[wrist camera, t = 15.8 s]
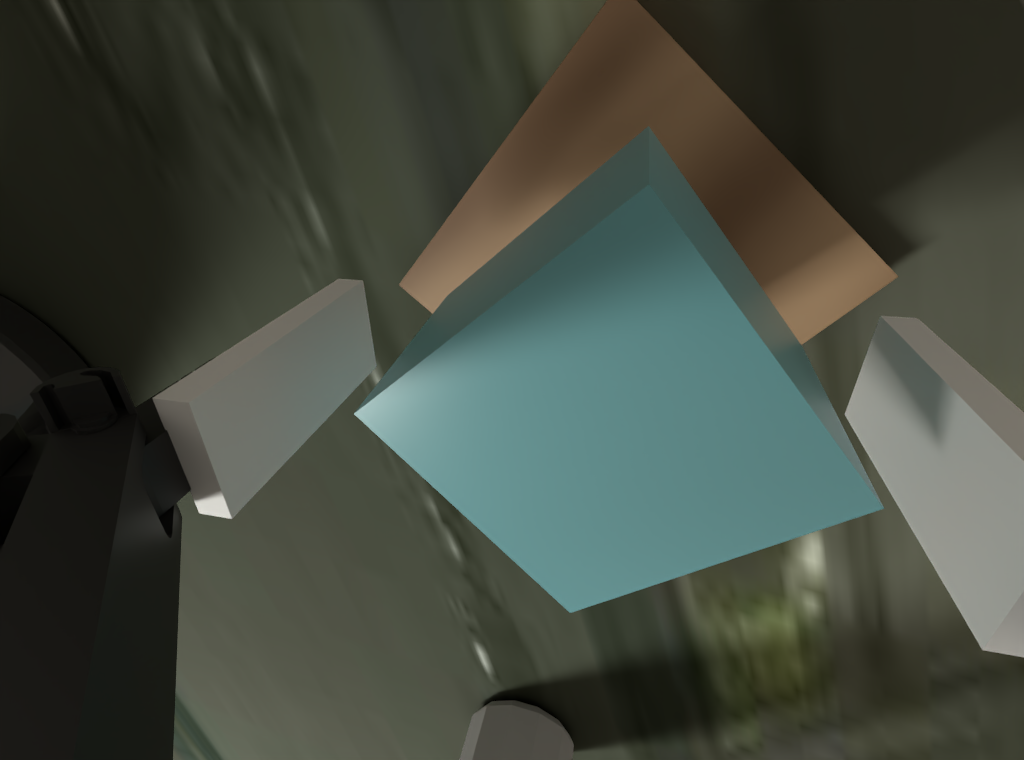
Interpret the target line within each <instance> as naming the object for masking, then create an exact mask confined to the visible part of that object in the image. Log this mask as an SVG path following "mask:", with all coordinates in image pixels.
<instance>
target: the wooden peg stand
mask: <svg viewBox="0 0 1024 760" xmlns="http://www.w3.org/2000/svg"><path fill="white" fill-rule="evenodd" d="M648 126H649V127H650V129H651V130H652V131H653V133H654V134H655V136H656V137H657V139H658V140H659V141H660V143H661V144H662V146H663V147H664V149H665V150H666V152H667V153H668V154H669V156H670V157H671V159H672V160H673V162H674V163H675V164H676V166H677V167H678V169H679V170H680V172H681V173H682V174H683V176H684V177H685V179H686V180H687V182H688V183H689V185H690V186H691V187H692V189H693V190H694V192H695V193H696V195H697V196H698V197H699V199H700V200H701V202H702V203H703V205H704V206H705V207H706V209H707V210H708V212H709V213H710V215H711V216H712V218H713V219H714V220H715V222H716V223H717V225H718V226H719V228H720V229H721V230H722V232H723V233H724V235H725V236H726V238H727V239H728V240H729V242H730V243H731V245H732V246H733V248H734V249H735V250H736V252H737V253H738V255H739V256H740V258H741V259H742V261H743V262H744V263H745V265H746V266H747V268H748V269H749V271H750V272H751V273H752V275H753V276H754V278H755V279H756V281H757V282H758V283H759V285H760V286H761V288H762V289H763V291H764V292H765V294H766V295H767V296H768V298H769V299H770V301H771V302H772V304H773V305H774V306H775V308H776V309H777V311H778V312H779V314H780V315H781V316H782V318H783V319H784V321H785V322H786V324H787V325H788V327H789V328H790V329H791V331H792V332H793V334H794V335H795V337H796V338H797V339H798V341H799V342H800V344H801V345H802V344H803V343H805V342H806V341H808V340H809V339H810V338H812V337H813V336H815V335H816V334H818V333H819V332H820V331H822V330H823V329H825V328H826V327H827V326H829V325H830V324H832V323H833V322H835V321H836V320H837V319H839V318H840V317H842V316H843V315H845V314H846V313H847V312H849V311H850V310H852V309H853V308H855V307H856V306H857V305H859V304H860V303H862V302H863V301H864V300H866V299H867V298H869V297H870V296H872V295H873V294H874V293H876V292H877V291H879V290H880V289H882V288H883V287H884V286H886V285H887V284H889V283H890V282H892V281H893V280H894V279H896V278H897V277H898V276H897V275H896V274H895V273H894V272H893V270H892V269H891V268H890V267H889V266H888V265H887V264H886V263H885V262H884V261H883V260H882V259H881V258H880V257H879V256H878V255H877V254H876V253H875V251H874V250H873V249H872V248H871V247H870V246H869V245H868V244H867V243H866V242H865V241H864V240H863V239H862V238H861V237H860V236H859V235H858V234H857V232H856V231H855V230H854V229H853V228H852V227H851V226H850V225H849V224H848V223H847V222H846V221H845V220H844V219H843V218H842V217H841V216H840V215H839V213H838V212H837V211H836V210H835V209H834V208H833V207H832V206H831V205H830V204H829V203H828V202H827V201H826V200H825V199H824V198H823V197H822V196H821V194H820V193H819V192H818V191H817V190H816V189H815V188H814V187H813V186H812V185H811V184H810V183H809V182H808V181H807V180H806V179H805V178H804V177H803V175H802V174H801V173H800V172H799V171H798V170H797V169H796V168H795V167H794V166H793V165H792V164H791V163H790V162H789V161H788V160H787V159H786V158H785V156H784V155H783V154H782V153H781V152H780V151H779V150H778V149H777V148H776V147H775V146H774V145H773V144H772V143H771V142H770V141H769V140H768V139H767V137H766V136H765V135H764V134H763V133H762V132H761V131H760V130H759V129H758V128H757V127H756V126H755V125H754V124H753V123H752V122H751V121H750V119H749V118H748V117H747V116H746V115H745V114H744V113H743V112H742V111H741V110H740V109H739V108H738V107H737V106H736V105H735V104H734V103H733V102H732V100H731V99H730V98H729V97H728V96H727V95H726V94H725V93H724V92H723V91H722V90H721V89H720V88H719V87H718V86H717V85H716V84H715V83H714V81H713V80H712V79H711V78H710V77H709V76H708V75H707V74H706V73H705V72H704V71H703V70H702V69H701V68H700V67H699V66H698V65H697V64H696V62H695V61H694V60H693V59H692V58H691V57H690V56H689V55H688V54H687V53H686V52H685V51H684V50H683V49H682V48H681V47H680V46H679V45H678V43H677V42H676V41H675V40H674V39H673V38H672V37H671V36H670V35H669V34H668V33H667V32H666V31H665V30H664V29H663V28H662V27H661V26H660V24H659V23H658V22H657V21H656V20H655V19H654V18H653V17H652V16H651V15H650V14H649V13H648V12H647V11H646V10H645V9H644V8H643V7H642V5H641V4H640V3H639V2H638V1H637V0H607V1H606V3H605V4H604V6H603V7H602V8H601V10H600V11H599V12H598V14H597V15H596V16H595V18H594V19H593V21H592V22H591V23H590V25H589V26H588V27H587V29H586V30H585V31H584V33H583V34H582V36H581V37H580V38H579V40H578V41H577V42H576V44H575V45H574V46H573V48H572V49H571V51H570V52H569V53H568V55H567V56H566V57H565V59H564V60H563V61H562V63H561V64H560V66H559V67H558V68H557V70H556V71H555V72H554V74H553V75H552V76H551V78H550V79H549V81H548V82H547V83H546V85H545V86H544V87H543V89H542V90H541V91H540V93H539V94H538V96H537V97H536V98H535V100H534V101H533V102H532V104H531V105H530V106H529V108H528V109H527V111H526V112H525V113H524V115H523V116H522V117H521V119H520V120H519V121H518V123H517V124H516V126H515V127H514V128H513V130H512V131H511V132H510V134H509V135H508V136H507V138H506V139H505V141H504V142H503V143H502V145H501V146H500V147H499V149H498V150H497V151H496V153H495V154H494V156H493V157H492V158H491V160H490V161H489V162H488V164H487V165H486V166H485V168H484V169H483V171H482V172H481V173H480V175H479V176H478V177H477V179H476V180H475V181H474V183H473V184H472V186H471V187H470V188H469V190H468V191H467V192H466V194H465V195H464V197H463V198H462V199H461V201H460V202H459V203H458V205H457V206H456V207H455V209H454V210H453V212H452V213H451V214H450V216H449V217H448V218H447V220H446V221H445V222H444V224H443V225H442V227H441V228H440V229H439V231H438V232H437V233H436V235H435V236H434V237H433V239H432V240H431V242H430V243H429V244H428V246H427V247H426V248H425V250H424V251H423V252H422V254H421V255H420V257H419V258H418V259H417V261H416V262H415V263H414V265H413V266H412V267H411V269H410V270H409V272H408V273H407V274H406V276H405V277H404V278H403V280H402V281H401V282H400V284H399V285H400V286H401V287H402V288H403V289H404V290H405V291H407V292H408V293H409V294H410V295H411V296H413V297H414V298H415V299H416V300H417V301H418V302H420V303H421V304H422V305H423V306H424V307H425V308H427V309H428V310H429V311H430V312H431V313H432V314H433V313H434V312H435V310H436V309H437V308H438V307H439V305H440V304H441V303H442V302H443V300H444V299H445V298H446V297H447V295H449V294H450V293H451V292H452V291H453V290H455V289H456V288H457V287H458V286H459V285H461V284H462V283H463V282H464V281H465V280H466V279H468V278H469V277H470V276H471V275H472V274H474V273H475V272H476V271H477V270H478V269H479V268H481V267H482V266H483V265H484V264H485V263H487V262H488V261H489V260H490V259H491V258H493V257H494V256H495V255H496V254H497V253H498V252H500V251H501V250H502V249H503V248H504V247H506V246H507V245H508V244H509V243H510V242H512V241H513V240H514V239H515V238H516V237H517V236H519V235H520V234H521V233H522V232H523V231H525V230H526V229H527V228H528V227H529V226H531V225H532V224H533V223H534V222H535V221H536V220H538V219H539V218H540V217H541V216H542V215H544V214H545V213H546V212H547V211H548V210H549V209H551V208H552V207H553V206H554V205H555V204H557V203H558V202H559V201H560V200H561V199H563V198H564V197H565V196H566V195H567V194H568V193H570V192H571V191H572V190H573V189H574V188H576V187H577V186H578V185H579V184H580V183H582V182H583V181H584V180H585V179H586V178H587V177H589V176H590V175H591V174H592V173H593V172H595V171H596V170H597V169H598V168H599V167H601V166H602V165H603V164H604V163H605V162H606V161H608V160H609V159H610V158H611V157H612V156H614V155H615V154H616V153H617V152H618V151H619V150H621V149H622V148H623V147H624V146H625V145H627V144H628V143H629V142H630V141H631V140H633V139H634V138H635V137H636V136H637V135H638V134H640V133H641V132H642V131H643V130H644V129H646V128H647V127H648Z"/></svg>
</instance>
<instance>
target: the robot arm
mask: <svg viewBox="0 0 1024 760" xmlns="http://www.w3.org/2000/svg"><path fill="white" fill-rule="evenodd" d="M376 367H377V366H376V360H375V353H374V347H373V340H372V334H371V328H370V321H369V315H368V309H367V302H366V296H365V289H364V283H363V280H348V279H337V280H336V281H334V282H333V283H331V284H330V285H328V286H326V287H325V288H323V289H322V290H320V291H319V292H317V293H316V294H314V295H312V296H311V297H309V298H308V299H306V300H305V301H303V302H301V303H300V304H298V305H297V306H295V307H294V308H292V309H291V310H289V311H287V312H286V313H284V314H283V315H281V316H280V317H278V318H277V319H275V320H273V321H272V322H270V323H269V324H267V325H266V326H264V327H262V328H261V329H259V330H258V331H256V332H255V333H253V334H252V335H250V336H248V337H247V338H245V339H244V340H242V341H241V342H239V343H238V344H236V345H234V346H233V347H231V348H230V349H228V350H227V351H225V352H223V353H222V354H220V355H219V356H217V357H215V358H213V359H211V360H209V361H208V362H206V363H205V364H203V365H201V366H200V367H198V368H197V369H195V371H194V372H190V373H189V374H187V375H186V376H184V377H183V378H181V380H180V381H176V382H175V383H173V384H172V385H170V386H168V387H167V388H165V389H164V390H162V391H161V392H159V393H158V394H156V395H154V396H153V397H151V398H150V399H148V400H147V401H145V402H143V403H142V404H140V405H139V406H137V407H136V408H135V406H134V404H133V402H132V400H131V397H130V395H129V393H128V390H127V388H126V386H125V383H124V381H123V379H122V376H121V374H120V372H119V370H116V369H114V368H111V367H93V368H89V367H88V366H87V365H86V364H85V363H84V362H83V360H82V359H81V358H80V357H79V356H78V355H77V354H76V353H75V352H74V351H73V350H72V349H71V348H70V347H69V346H68V345H67V344H66V343H65V342H64V341H63V340H62V339H61V338H60V337H59V336H58V335H57V334H56V333H54V332H53V331H52V330H51V329H50V328H48V327H47V326H46V325H45V324H43V323H42V322H41V321H40V320H38V319H37V318H36V317H34V316H33V315H31V314H30V313H29V312H27V311H26V310H24V309H23V308H21V307H20V306H18V305H16V304H15V303H13V302H11V301H10V300H8V299H6V298H4V297H2V296H0V760H173V739H174V713H175V687H176V660H177V634H178V608H179V582H180V555H181V529H182V516H181V513H180V510H179V508H178V506H177V502H178V501H179V500H180V499H181V498H182V497H183V496H184V495H186V494H187V493H188V492H189V491H190V492H191V494H192V497H193V499H194V502H195V504H196V506H197V509H198V511H199V513H201V514H207V515H212V516H218V517H224V518H229V519H232V518H233V517H234V516H235V515H236V514H237V513H238V512H239V511H240V510H241V509H242V508H243V507H244V506H245V505H246V504H247V503H248V501H249V500H250V499H251V498H252V497H253V496H254V495H255V494H256V493H257V492H258V491H259V490H260V489H261V488H262V487H263V486H264V485H265V484H266V483H267V481H268V480H269V479H270V478H271V477H272V476H273V475H274V474H275V473H276V472H277V471H278V470H279V469H280V468H281V467H282V466H283V465H284V464H285V462H286V461H287V460H288V459H289V458H290V457H291V456H292V455H293V454H294V453H295V452H296V451H297V450H298V449H299V448H300V447H301V446H302V445H303V444H304V442H305V441H306V440H307V439H308V438H309V437H310V436H311V435H312V434H313V433H314V432H315V431H316V430H317V429H318V428H319V427H320V426H321V425H322V424H323V422H324V421H325V420H326V419H327V418H328V417H329V416H330V415H331V414H332V413H333V412H334V411H335V410H336V409H337V408H338V407H339V406H340V405H341V404H342V402H343V401H344V400H345V399H346V398H347V397H348V396H349V395H350V394H351V393H352V392H353V391H354V390H355V389H356V388H357V387H358V386H359V385H360V384H361V382H362V381H363V380H364V379H365V378H366V377H367V376H368V375H369V374H370V373H371V372H372V371H373V370H374V369H375V368H376ZM845 416H846V418H847V419H848V421H849V423H850V425H851V426H852V428H853V430H854V431H855V433H856V435H857V436H858V438H859V440H860V442H861V443H862V445H863V447H864V448H865V450H866V452H867V454H868V455H869V457H870V459H871V460H872V462H873V464H874V466H875V467H876V469H877V471H878V472H879V474H880V476H881V478H882V479H883V481H884V483H885V484H886V486H887V488H888V489H889V491H890V493H891V495H892V496H893V498H894V500H895V501H896V503H897V505H898V507H899V508H900V510H901V512H902V513H903V515H904V517H905V519H906V520H907V522H908V524H909V525H910V527H911V529H912V531H913V532H914V534H915V536H916V537H917V539H918V541H919V542H920V544H921V546H922V548H923V549H924V551H925V553H926V554H927V556H928V558H929V560H930V561H931V563H932V565H933V566H934V568H935V570H936V572H937V573H938V575H939V577H940V578H941V580H942V582H943V584H944V585H945V587H946V589H947V590H948V592H949V594H950V595H951V597H952V599H953V601H954V602H955V604H956V606H957V607H958V609H959V611H960V613H961V614H962V616H963V618H964V619H965V621H966V623H967V625H968V626H969V628H970V630H971V631H972V633H973V635H974V636H975V638H976V640H977V642H978V643H979V645H980V647H981V648H982V650H985V651H991V652H996V653H1002V654H1008V655H1013V656H1019V657H1024V412H1023V411H1021V410H1020V409H1019V408H1018V407H1017V406H1016V405H1015V404H1014V403H1012V402H1011V401H1010V400H1009V399H1008V398H1007V397H1006V396H1005V395H1003V394H1002V393H1001V392H1000V391H999V390H998V389H997V388H996V387H994V386H993V385H992V384H991V383H990V382H989V381H988V380H986V379H985V378H984V377H983V376H982V375H981V374H980V373H979V372H977V371H976V370H975V369H974V368H973V367H972V366H971V365H970V364H968V363H967V362H966V361H965V360H964V359H963V358H962V357H961V356H959V355H958V354H957V353H956V352H955V351H954V350H953V349H952V348H950V347H949V346H948V345H947V344H946V343H945V342H944V341H943V340H941V339H940V338H939V337H938V336H937V335H936V334H935V333H934V332H932V331H931V330H930V329H929V328H928V327H927V326H926V325H925V324H923V323H922V322H921V321H920V320H919V319H918V318H907V317H892V316H880V318H879V321H878V324H877V327H876V329H875V332H874V335H873V338H872V340H871V343H870V346H869V349H868V352H867V354H866V357H865V360H864V363H863V365H862V368H861V371H860V374H859V376H858V379H857V382H856V385H855V388H854V390H853V393H852V396H851V399H850V401H849V404H848V407H847V410H846V412H845Z"/></svg>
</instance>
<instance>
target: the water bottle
mask: <svg viewBox="0 0 1024 760" xmlns="http://www.w3.org/2000/svg"><path fill="white" fill-rule="evenodd" d="M573 749H574V744H573V741H572V739H571V737H570V735H569V734H568V732H567V731H566V730H565V728H564V727H563V725H562V724H561V723H560V721H559V720H558V719H556V718H554V717H553V716H551V715H550V714H548V713H547V712H545V711H543V710H542V709H540V708H539V707H536V706H533V705H530V704H526V703H523V702H519V701H515V700H510V701H492V702H490V703H489V704H487V705H485V706H484V707H482V708H481V709H479V710H478V711H477V712H476V713H474V714H473V715H472V719H471V722H470V726H469V729H468V733H467V736H466V739H465V743H464V746H463V750H462V753H461V756H460V760H572V757H573Z"/></svg>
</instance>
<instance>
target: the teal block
mask: <svg viewBox="0 0 1024 760" xmlns="http://www.w3.org/2000/svg"><path fill="white" fill-rule="evenodd" d="M354 414H355V415H356V416H357V417H358V418H359V419H360V420H361V421H362V422H363V423H364V424H365V425H366V426H368V427H369V428H370V429H371V430H372V431H373V432H374V433H375V434H376V435H377V436H378V437H380V438H381V439H382V440H383V441H384V442H385V443H386V444H387V445H388V446H389V447H390V448H391V449H393V450H394V451H395V452H396V453H397V454H398V455H399V456H400V457H401V458H402V459H403V460H405V461H406V462H407V463H408V464H409V465H410V466H411V467H412V468H413V469H414V470H415V471H416V472H418V473H419V474H420V475H421V476H422V477H423V478H424V479H425V480H426V481H427V482H428V483H429V484H431V485H432V486H433V487H434V488H435V489H436V490H437V491H438V492H439V493H440V494H441V495H443V496H444V497H445V498H446V499H447V500H448V501H449V502H450V503H451V504H452V505H453V506H454V507H456V508H457V509H458V510H459V511H460V512H461V513H462V514H463V515H464V516H465V517H466V518H468V519H469V520H470V521H471V522H472V523H473V524H474V525H475V526H476V527H477V528H478V529H479V530H481V531H482V532H483V533H484V534H485V535H486V536H487V537H488V538H489V539H490V540H491V541H493V542H494V543H495V544H496V545H497V546H498V547H499V548H500V549H501V550H502V551H503V552H504V553H506V554H507V555H508V556H509V557H510V558H511V559H512V560H513V561H514V562H515V563H516V564H517V565H519V566H520V567H521V568H522V569H523V570H524V571H525V572H526V573H527V574H528V575H529V576H531V577H532V578H533V579H534V580H535V581H536V582H537V583H538V584H539V585H540V586H541V587H542V588H544V589H545V590H546V591H547V592H548V593H549V594H550V595H551V596H552V597H553V598H554V599H556V600H557V601H558V602H559V603H560V604H561V605H562V606H563V607H564V608H565V609H566V610H567V611H569V612H570V613H571V612H574V611H577V610H580V609H583V608H586V607H589V606H592V605H595V604H598V603H601V602H604V601H607V600H610V599H614V598H617V597H620V596H623V595H626V594H629V593H632V592H635V591H638V590H641V589H644V588H647V587H650V586H653V585H656V584H659V583H662V582H665V581H668V580H671V579H674V578H677V577H680V576H683V575H686V574H689V573H692V572H695V571H698V570H701V569H704V568H707V567H710V566H713V565H716V564H719V563H722V562H725V561H728V560H731V559H734V558H737V557H740V556H743V555H746V554H749V553H752V552H755V551H758V550H761V549H764V548H767V547H770V546H773V545H776V544H779V543H782V542H785V541H788V540H791V539H794V538H797V537H800V536H803V535H806V534H809V533H812V532H815V531H818V530H821V529H824V528H827V527H830V526H833V525H836V524H839V523H842V522H845V521H848V520H851V519H854V518H857V517H860V516H863V515H866V514H869V513H872V512H875V511H878V510H881V509H884V507H883V505H882V503H881V502H880V500H879V498H878V496H877V494H876V492H875V490H874V488H873V486H872V484H871V482H870V480H869V478H868V476H867V474H866V472H865V470H864V468H863V466H862V464H861V462H860V460H859V458H858V456H857V454H856V452H855V450H854V448H853V446H852V444H851V442H850V440H849V438H848V436H847V434H846V432H845V430H844V428H843V426H842V424H841V422H840V420H839V418H838V417H837V415H836V413H835V411H834V409H833V407H832V405H831V403H830V401H829V399H828V397H827V395H826V393H825V391H824V389H823V387H822V385H821V383H820V381H819V379H818V377H817V375H816V373H815V371H814V369H813V367H812V365H811V363H810V361H809V359H808V357H807V355H806V353H805V351H804V349H803V347H802V345H801V344H800V342H799V341H798V339H797V338H796V337H795V335H794V334H793V332H792V331H791V329H790V328H789V327H788V325H787V324H786V322H785V321H784V319H783V318H782V316H781V315H780V314H779V312H778V311H777V309H776V308H775V306H774V305H773V304H772V302H771V301H770V299H769V298H768V296H767V295H766V294H765V292H764V291H763V289H762V288H761V286H760V285H759V283H758V282H757V281H756V279H755V278H754V276H753V275H752V273H751V272H750V271H749V269H748V268H747V266H746V265H745V263H744V262H743V261H742V259H741V258H740V256H739V255H738V253H737V252H736V250H735V249H734V248H733V246H732V245H731V243H730V242H729V240H728V239H727V238H726V236H725V235H724V233H723V232H722V230H721V229H720V228H719V226H718V225H717V223H716V222H715V220H714V219H713V218H712V216H711V215H710V213H709V212H708V210H707V209H706V207H705V206H704V205H703V203H702V202H701V200H700V199H699V197H698V196H697V195H696V193H695V192H694V190H693V189H692V187H691V186H690V185H689V183H688V182H687V180H686V179H685V177H684V176H683V174H682V173H681V172H680V170H679V169H678V167H677V166H676V164H675V163H674V162H673V160H672V159H671V157H670V156H669V154H668V153H667V152H666V150H665V149H664V147H663V146H662V144H661V143H660V141H659V140H658V139H657V137H656V136H655V134H654V133H653V131H652V130H651V129H650V127H649V126H648V127H647V128H646V129H644V130H643V131H642V132H641V133H640V134H638V135H637V136H636V137H635V138H634V139H633V140H631V141H630V142H629V143H628V144H627V145H625V146H624V147H623V148H622V149H621V150H619V151H618V152H617V153H616V154H615V155H614V156H612V157H611V158H610V159H609V160H608V161H606V162H605V163H604V164H603V165H602V166H601V167H599V168H598V169H597V170H596V171H595V172H593V173H592V174H591V175H590V176H589V177H587V178H586V179H585V180H584V181H583V182H582V183H580V184H579V185H578V186H577V187H576V188H574V189H573V190H572V191H571V192H570V193H568V194H567V195H566V196H565V197H564V198H563V199H561V200H560V201H559V202H558V203H557V204H555V205H554V206H553V207H552V208H551V209H549V210H548V211H547V212H546V213H545V214H544V215H542V216H541V217H540V218H539V219H538V220H536V221H535V222H534V223H533V224H532V225H531V226H529V227H528V228H527V229H526V230H525V231H523V232H522V233H521V234H520V235H519V236H517V237H516V238H515V239H514V240H513V241H512V242H510V243H509V244H508V245H507V246H506V247H504V248H503V249H502V250H501V251H500V252H498V253H497V254H496V255H495V256H494V257H493V258H491V259H490V260H489V261H488V262H487V263H485V264H484V265H483V266H482V267H481V268H479V269H478V270H477V271H476V272H475V273H474V274H472V275H471V276H470V277H469V278H468V279H466V280H465V281H464V282H463V283H462V284H461V285H459V286H458V287H457V288H456V289H455V290H453V291H452V292H451V293H450V294H449V295H447V297H446V298H445V299H444V300H443V302H442V303H441V304H440V305H439V307H438V308H437V309H436V310H435V312H434V313H433V314H432V316H431V317H430V318H429V319H428V321H427V322H426V323H425V324H424V326H423V327H422V328H421V329H420V331H419V332H418V333H417V335H416V336H415V337H414V338H413V340H412V341H411V342H410V343H409V345H408V346H407V347H406V348H405V350H404V351H403V352H402V354H401V355H400V356H399V357H398V359H397V360H396V361H395V362H394V364H393V365H392V366H391V367H390V369H389V370H388V371H387V373H386V374H385V375H384V376H383V378H382V379H381V380H380V381H379V383H378V384H377V385H376V386H375V388H374V389H373V390H372V391H371V393H370V394H369V395H368V397H367V398H366V399H365V400H364V402H363V403H362V404H361V405H360V407H359V408H358V409H357V410H356V412H355V413H354Z"/></svg>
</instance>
